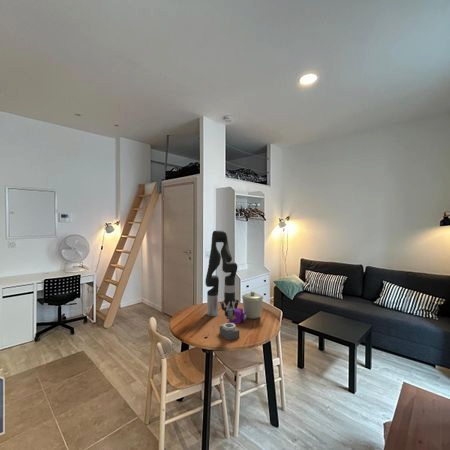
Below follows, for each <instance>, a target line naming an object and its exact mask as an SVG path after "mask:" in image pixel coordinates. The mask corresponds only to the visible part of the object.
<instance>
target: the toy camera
mask: <svg viewBox="0 0 450 450" xmlns="http://www.w3.org/2000/svg"><path fill="white" fill-rule="evenodd" d="M246 319H247V317H246V312H245V313H244V308H241V307H237V309H235V310H234V315H233V319H228V322H229V323H234V324H240V323H241V322H242V321H244V322H246Z"/></svg>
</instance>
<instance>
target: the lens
mask: <svg viewBox="0 0 450 450" xmlns="http://www.w3.org/2000/svg"><path fill="white" fill-rule="evenodd" d="M227 311H228V316H227V317H226V316H225V317H226V319H227V320H229V319H233V307H232V306H229V308H228V310H227Z"/></svg>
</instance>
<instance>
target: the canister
mask: <svg viewBox="0 0 450 450" xmlns="http://www.w3.org/2000/svg"><path fill="white" fill-rule="evenodd" d="M241 298H242V307H243V308H242V309H243V313H245V312H246V319H251V320H255V319H256V320H257V319H259V318H260V317H261V315H262V308H263V301H264V296H263V295H261V294H260V293H255V291H253V290H252V291H250V292H249V293H244V294H243V295H241Z"/></svg>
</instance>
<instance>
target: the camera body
mask: <svg viewBox="0 0 450 450" xmlns="http://www.w3.org/2000/svg"><path fill="white" fill-rule="evenodd" d="M219 334H220V335H221V336H222V337H223V338H224V339H226V340H227V341H232V340H234V339H239V338H240V329H238V328H237V327H236V323H233V322H226V323H224V324H221V325H219Z"/></svg>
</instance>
